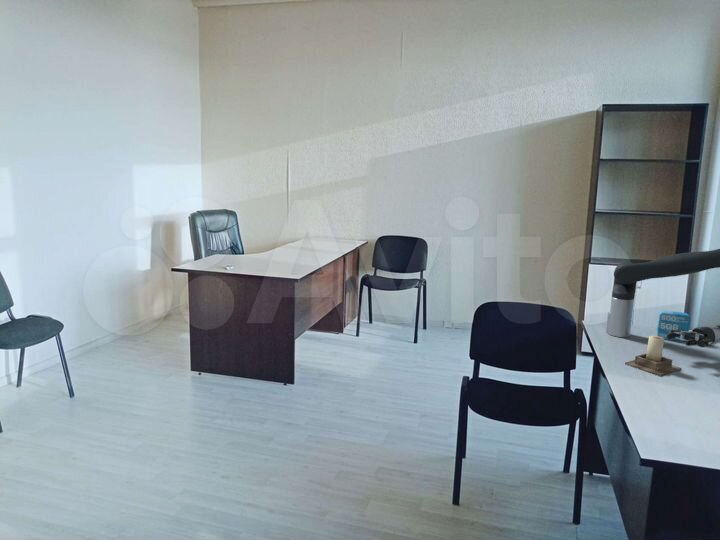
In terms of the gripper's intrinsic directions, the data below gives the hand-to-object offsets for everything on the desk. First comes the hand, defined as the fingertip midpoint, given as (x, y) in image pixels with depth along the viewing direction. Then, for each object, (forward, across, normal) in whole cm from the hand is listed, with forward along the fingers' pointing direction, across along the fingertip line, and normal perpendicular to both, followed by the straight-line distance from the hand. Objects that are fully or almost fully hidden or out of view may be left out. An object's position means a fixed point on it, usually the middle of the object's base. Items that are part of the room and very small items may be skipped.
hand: (677, 339), depth 217 cm
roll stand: (+11, 0, +10) cm, 15 cm away
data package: (-26, -24, +10) cm, 37 cm away
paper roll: (+11, 0, +9) cm, 14 cm away
